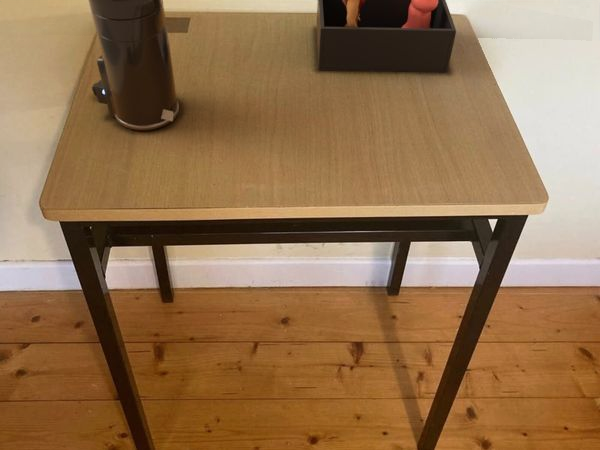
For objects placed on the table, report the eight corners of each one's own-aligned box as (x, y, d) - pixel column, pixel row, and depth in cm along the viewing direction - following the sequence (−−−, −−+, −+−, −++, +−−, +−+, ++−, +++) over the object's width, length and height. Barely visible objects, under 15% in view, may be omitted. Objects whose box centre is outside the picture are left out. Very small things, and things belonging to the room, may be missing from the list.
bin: (318, 70, 102) (320, 28, 96) (316, 29, 111) (318, -12, 105) (447, 72, 102) (456, 30, 97) (434, 31, 111) (442, -9, 106)
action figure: (364, 61, 103) (374, -28, 92) (343, 62, 103) (350, -27, 92) (357, 32, 109) (366, -54, 98) (337, 32, 109) (343, -54, 98)
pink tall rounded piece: (427, 57, 104) (445, -31, 93) (397, 53, 105) (411, -35, 94) (429, 42, 108) (446, -45, 97) (400, 38, 108) (413, -49, 97)
